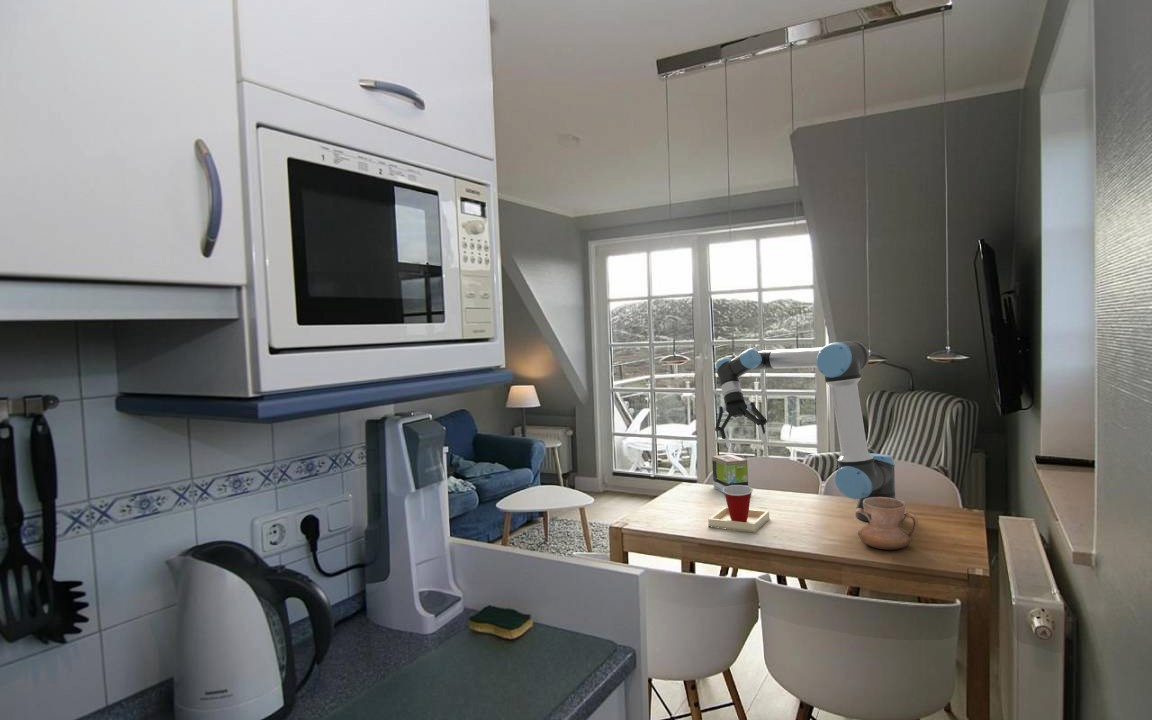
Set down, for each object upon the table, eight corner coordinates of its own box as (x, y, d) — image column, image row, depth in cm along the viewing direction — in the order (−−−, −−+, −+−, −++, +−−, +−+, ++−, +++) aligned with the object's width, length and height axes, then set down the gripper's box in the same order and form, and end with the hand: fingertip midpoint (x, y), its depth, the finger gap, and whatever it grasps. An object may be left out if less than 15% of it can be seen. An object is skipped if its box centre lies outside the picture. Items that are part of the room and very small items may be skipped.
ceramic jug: (853, 549, 201) (852, 505, 201) (858, 535, 214) (857, 493, 213) (917, 558, 193) (917, 511, 192) (919, 542, 205) (918, 498, 204)
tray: (769, 519, 237) (769, 511, 237) (754, 532, 223) (754, 524, 223) (725, 514, 247) (725, 506, 247) (708, 527, 233) (708, 518, 233)
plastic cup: (723, 525, 231) (722, 492, 231) (724, 516, 242) (722, 485, 241) (755, 525, 229) (753, 492, 228) (754, 516, 239) (752, 484, 239)
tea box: (749, 493, 275) (747, 459, 275) (728, 496, 273) (726, 461, 272) (733, 485, 290) (731, 453, 289) (712, 488, 288) (711, 455, 287)
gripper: (761, 394, 260) (776, 443, 249) (700, 402, 259) (712, 451, 249) (765, 386, 253) (780, 436, 243) (703, 394, 253) (715, 444, 242)
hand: (746, 444), depth 246 cm, fingers open, 13 cm apart
